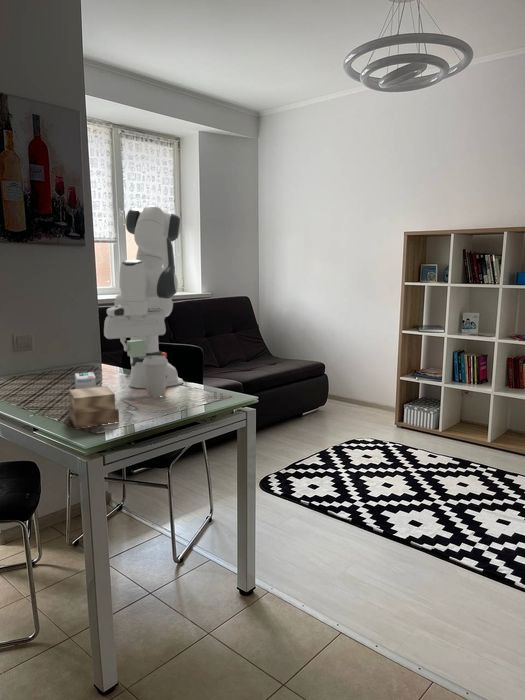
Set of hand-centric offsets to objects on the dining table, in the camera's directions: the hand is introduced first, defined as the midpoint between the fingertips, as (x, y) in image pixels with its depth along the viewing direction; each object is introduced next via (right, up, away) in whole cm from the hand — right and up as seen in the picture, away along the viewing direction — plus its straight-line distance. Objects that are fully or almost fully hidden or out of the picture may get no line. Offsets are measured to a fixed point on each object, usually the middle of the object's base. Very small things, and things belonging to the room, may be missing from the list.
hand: (136, 350), depth 174 cm
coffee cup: (+2, -18, +25) cm, 30 cm away
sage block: (0, -2, 0) cm, 2 cm away
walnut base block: (-12, -23, -8) cm, 27 cm away
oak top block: (-12, -18, -9) cm, 24 cm away
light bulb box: (-21, -20, +12) cm, 31 cm away
